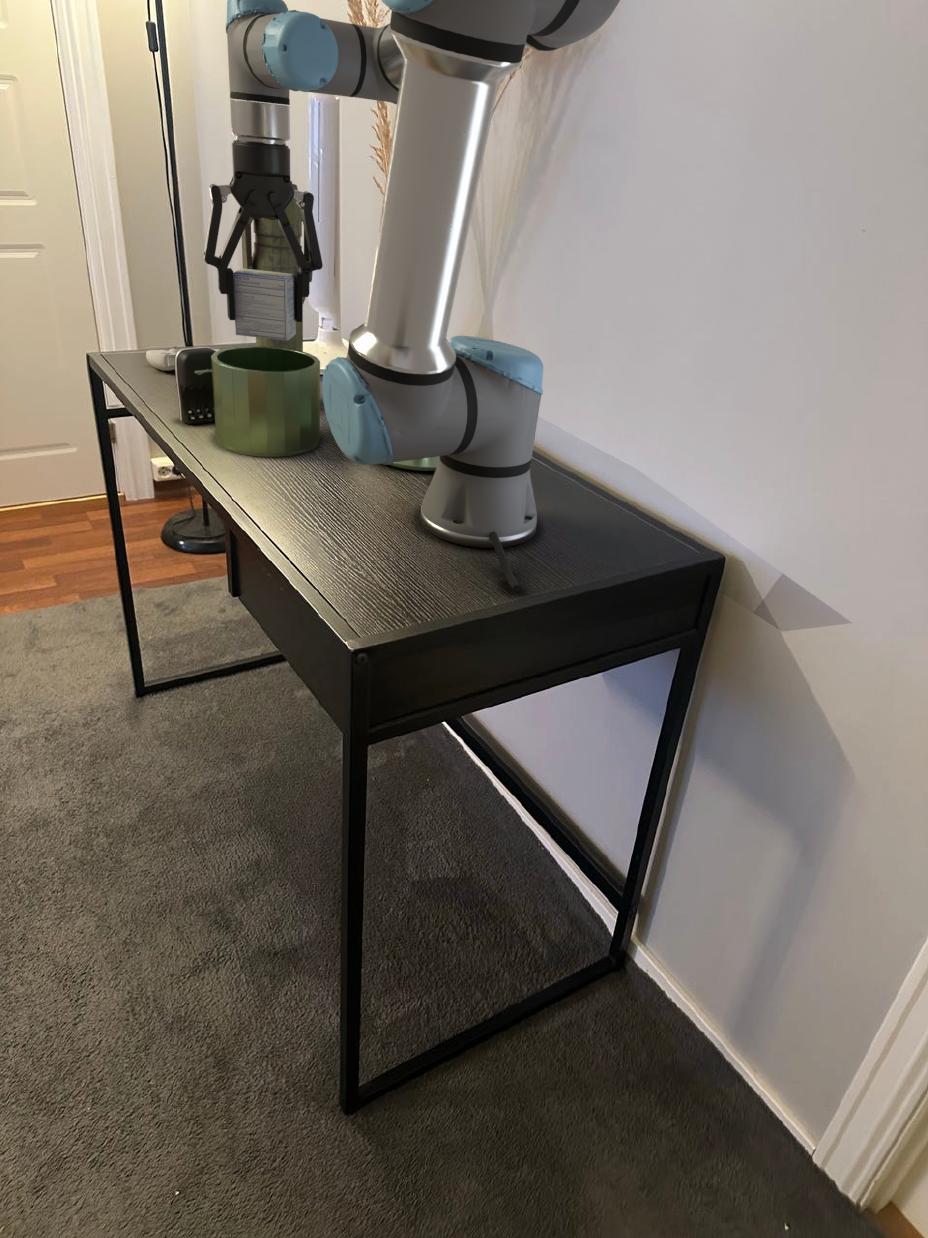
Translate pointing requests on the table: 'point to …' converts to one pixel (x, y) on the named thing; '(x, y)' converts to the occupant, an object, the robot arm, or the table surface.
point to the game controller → (163, 358)
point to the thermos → (275, 259)
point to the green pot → (266, 400)
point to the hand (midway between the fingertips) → (265, 318)
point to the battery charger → (195, 385)
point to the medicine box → (264, 304)
